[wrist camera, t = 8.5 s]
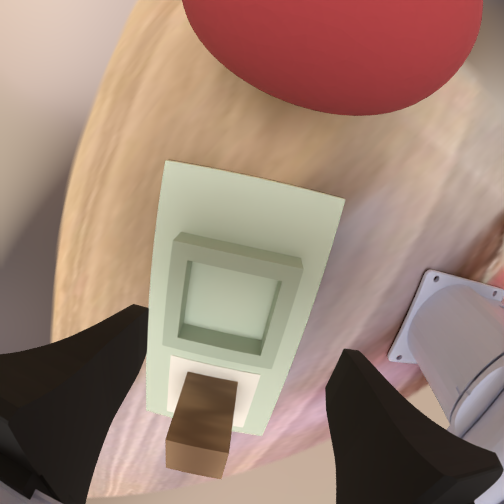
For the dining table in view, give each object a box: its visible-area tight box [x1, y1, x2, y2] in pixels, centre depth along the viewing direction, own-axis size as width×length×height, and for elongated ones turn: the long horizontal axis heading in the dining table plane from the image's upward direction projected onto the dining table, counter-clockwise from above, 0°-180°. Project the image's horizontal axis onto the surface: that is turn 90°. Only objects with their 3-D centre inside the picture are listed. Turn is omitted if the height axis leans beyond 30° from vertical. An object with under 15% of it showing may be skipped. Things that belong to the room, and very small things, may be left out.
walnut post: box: [166, 372, 238, 479], centre depth 20 cm, size 4×4×7 cm
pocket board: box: [146, 160, 345, 436], centre depth 21 cm, size 11×22×2 cm, turn 168°
